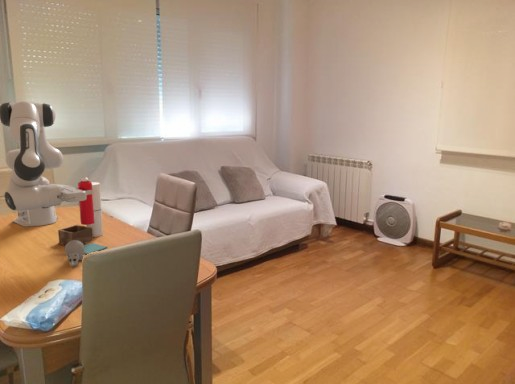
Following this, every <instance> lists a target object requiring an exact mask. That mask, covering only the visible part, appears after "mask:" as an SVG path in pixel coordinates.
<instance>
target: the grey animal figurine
mask: <svg viewBox="0 0 515 384" xmlns="http://www.w3.org/2000/svg"><path fill="white" fill-rule="evenodd" d="M84 245H85V244H83V243H82V242H80V241H78V240H73V241H70V242H68V243H67V245H65V246H64V252H65V254H66V256H67V261H68V262H69V265H70V267H71V268H75V267H77V266H78V265H79V264H78V262H82V261H83V260H82V259H83V257H84V258H85V255H86V254H85V251H84V250H85V248H84Z"/></svg>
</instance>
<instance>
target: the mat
mask: <svg viewBox="0 0 515 384" xmlns="http://www.w3.org/2000/svg"><path fill="white" fill-rule="evenodd" d="M83 245H84V248H85V250H84V251H85V254H84V255H86V256H88V255H87V254H89V253H91V252H95V251H98V252H100V251H99V250H101V251H103V250H106V249H108V246H106V245H101V244H98V243H93V242H88V243H87V244H83Z"/></svg>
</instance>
